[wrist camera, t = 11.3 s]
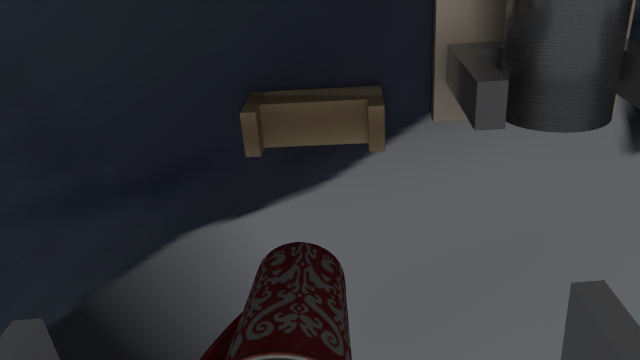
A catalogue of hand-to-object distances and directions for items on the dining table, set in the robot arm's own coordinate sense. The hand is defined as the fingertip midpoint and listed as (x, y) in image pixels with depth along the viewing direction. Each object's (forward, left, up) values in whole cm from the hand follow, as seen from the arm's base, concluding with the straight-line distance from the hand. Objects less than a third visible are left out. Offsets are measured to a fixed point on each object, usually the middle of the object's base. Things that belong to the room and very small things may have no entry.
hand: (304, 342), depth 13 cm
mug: (-5, -17, -26) cm, 31 cm away
